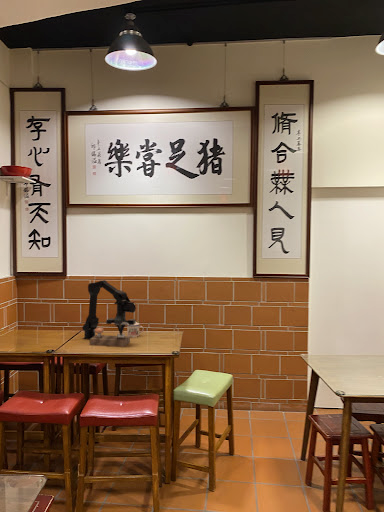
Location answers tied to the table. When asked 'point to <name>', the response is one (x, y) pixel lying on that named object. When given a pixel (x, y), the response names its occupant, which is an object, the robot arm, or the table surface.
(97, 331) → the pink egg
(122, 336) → the grey plunger
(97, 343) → the press block
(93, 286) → the robot arm
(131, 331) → the teacup with lid
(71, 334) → the table surface
